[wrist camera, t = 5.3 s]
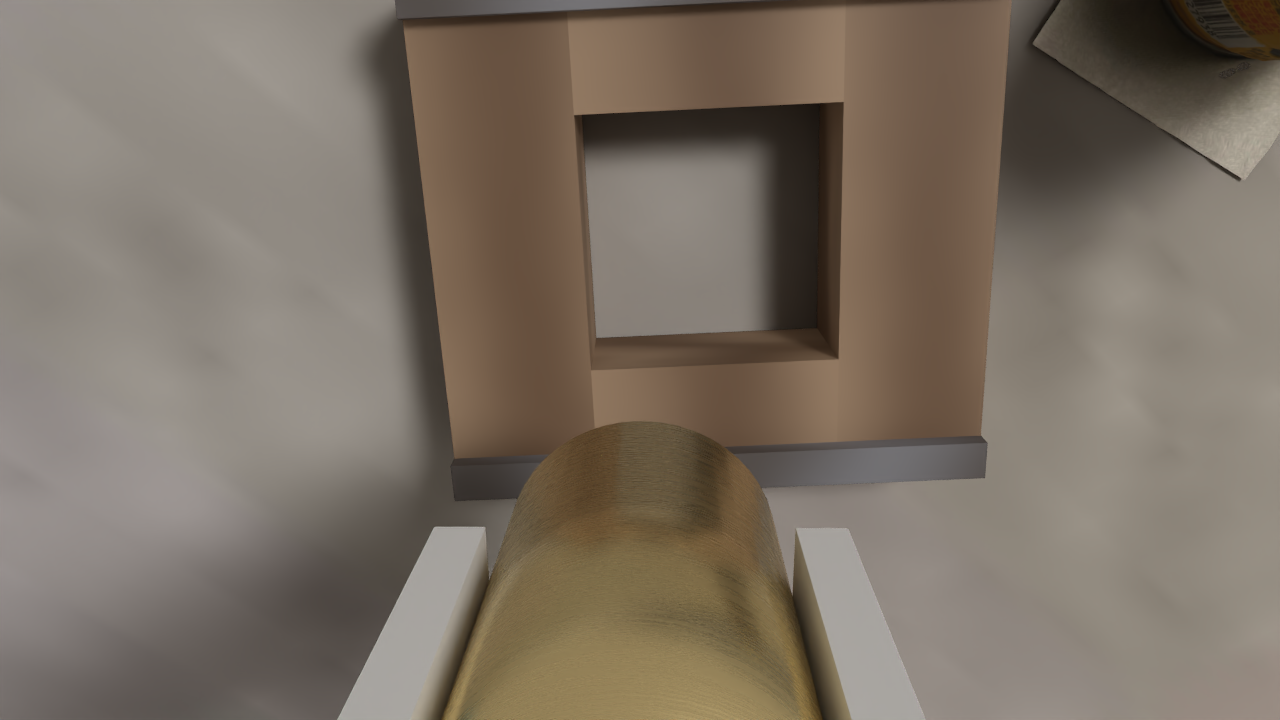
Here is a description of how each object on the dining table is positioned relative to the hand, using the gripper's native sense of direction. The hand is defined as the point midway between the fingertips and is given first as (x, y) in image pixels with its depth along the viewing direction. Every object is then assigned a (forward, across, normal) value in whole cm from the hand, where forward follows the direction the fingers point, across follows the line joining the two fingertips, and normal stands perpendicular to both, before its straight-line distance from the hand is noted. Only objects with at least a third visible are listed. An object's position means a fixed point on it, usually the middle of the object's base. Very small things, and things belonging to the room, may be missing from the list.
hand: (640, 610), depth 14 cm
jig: (+14, +2, +4) cm, 14 cm away
